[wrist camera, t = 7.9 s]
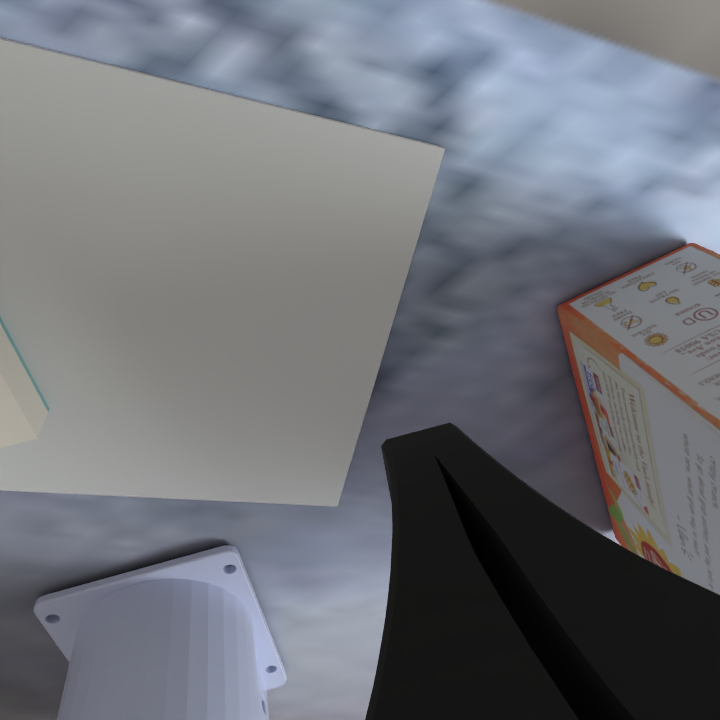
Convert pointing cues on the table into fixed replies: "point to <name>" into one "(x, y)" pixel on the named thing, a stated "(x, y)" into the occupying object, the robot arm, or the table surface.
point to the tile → (18, 396)
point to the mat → (195, 281)
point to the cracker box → (655, 406)
